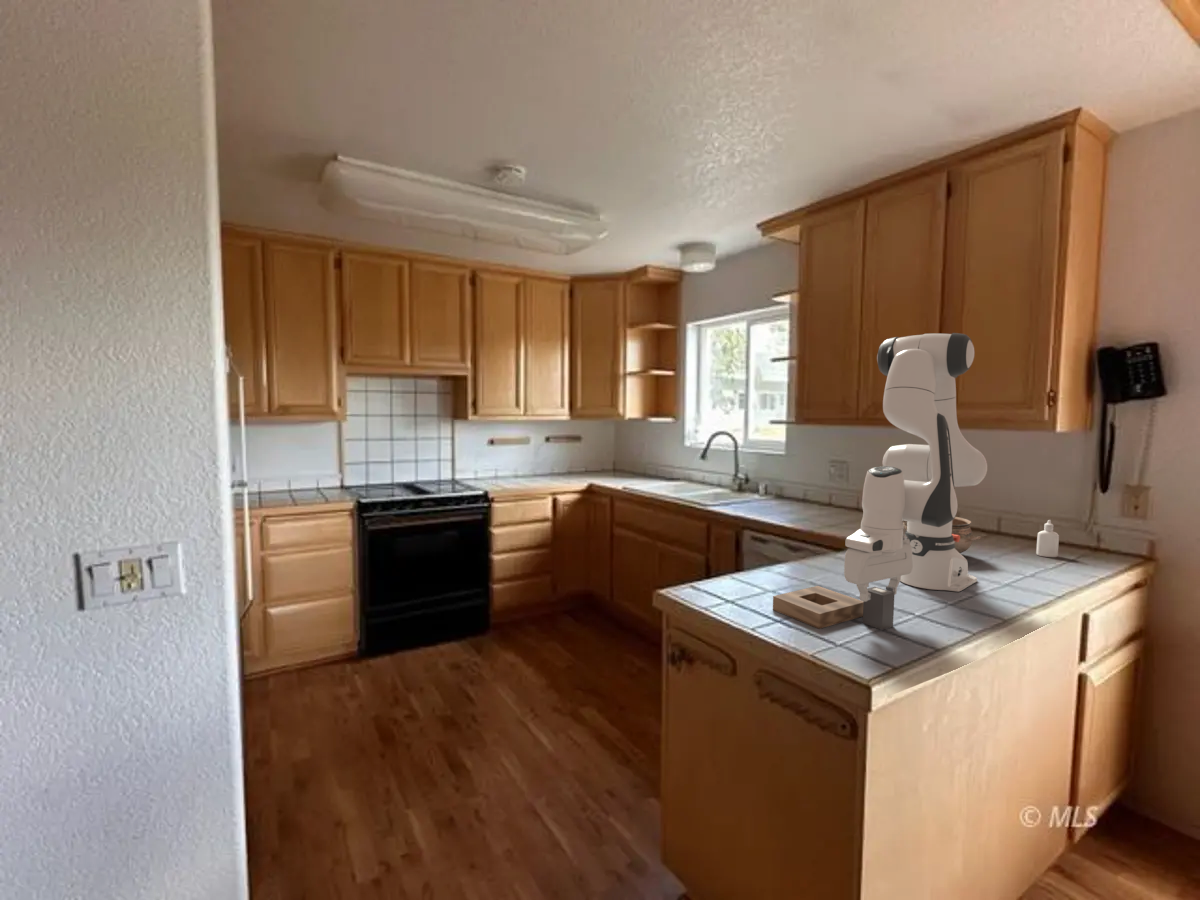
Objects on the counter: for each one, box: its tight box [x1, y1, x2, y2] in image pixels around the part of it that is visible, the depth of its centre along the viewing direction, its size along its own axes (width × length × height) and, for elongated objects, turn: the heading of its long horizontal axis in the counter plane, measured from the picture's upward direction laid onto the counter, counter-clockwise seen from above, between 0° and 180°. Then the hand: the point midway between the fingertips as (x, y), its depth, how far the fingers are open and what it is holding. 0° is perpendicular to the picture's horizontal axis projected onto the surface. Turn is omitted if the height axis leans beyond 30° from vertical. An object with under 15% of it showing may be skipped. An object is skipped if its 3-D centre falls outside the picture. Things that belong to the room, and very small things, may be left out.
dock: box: [772, 585, 864, 630], centre depth 147 cm, size 16×14×4 cm
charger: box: [862, 586, 896, 631], centre depth 140 cm, size 4×5×8 cm
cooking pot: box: [903, 516, 982, 554], centre depth 199 cm, size 25×19×12 cm
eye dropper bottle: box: [1035, 519, 1060, 558], centre depth 199 cm, size 4×6×12 cm
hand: (878, 597), depth 139 cm, fingers open, 8 cm apart
